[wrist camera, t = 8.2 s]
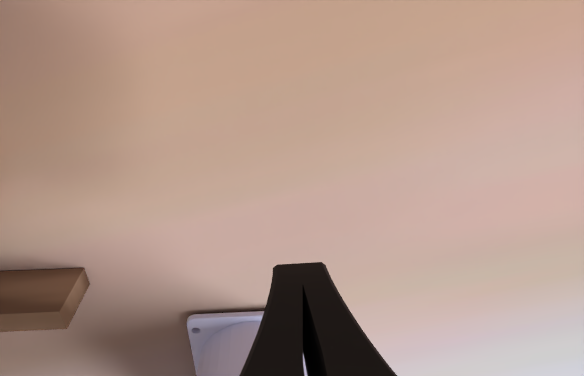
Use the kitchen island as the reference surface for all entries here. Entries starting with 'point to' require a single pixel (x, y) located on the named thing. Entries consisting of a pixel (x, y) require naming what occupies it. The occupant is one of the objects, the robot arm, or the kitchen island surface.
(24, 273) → the dock
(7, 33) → the kitchen island surface
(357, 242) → the kitchen island surface
